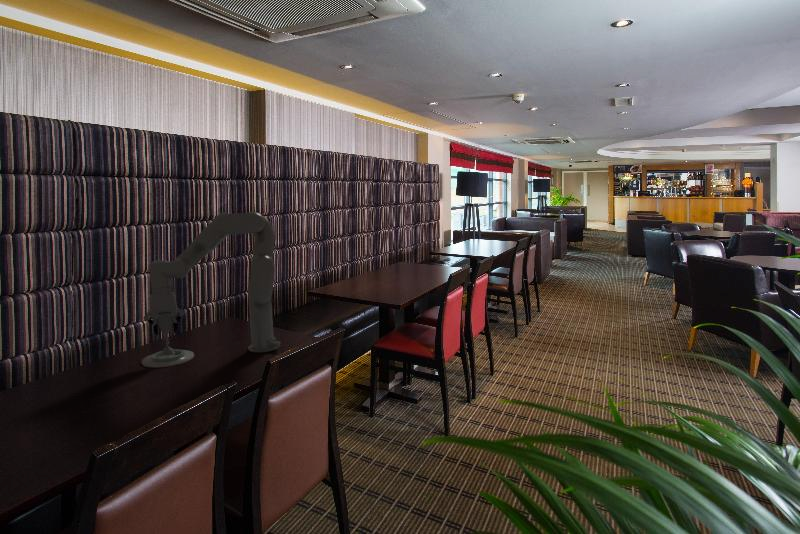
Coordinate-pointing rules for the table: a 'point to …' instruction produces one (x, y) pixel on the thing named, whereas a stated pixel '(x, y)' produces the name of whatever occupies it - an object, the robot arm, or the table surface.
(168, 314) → the chalice
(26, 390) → the table surface
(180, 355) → the plate
